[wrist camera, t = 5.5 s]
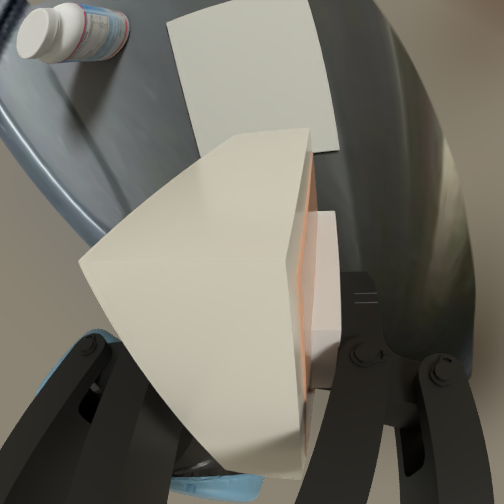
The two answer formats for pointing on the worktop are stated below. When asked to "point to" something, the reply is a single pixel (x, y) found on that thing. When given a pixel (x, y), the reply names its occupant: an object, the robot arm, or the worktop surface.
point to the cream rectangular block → (224, 297)
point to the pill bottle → (72, 34)
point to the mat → (253, 71)
